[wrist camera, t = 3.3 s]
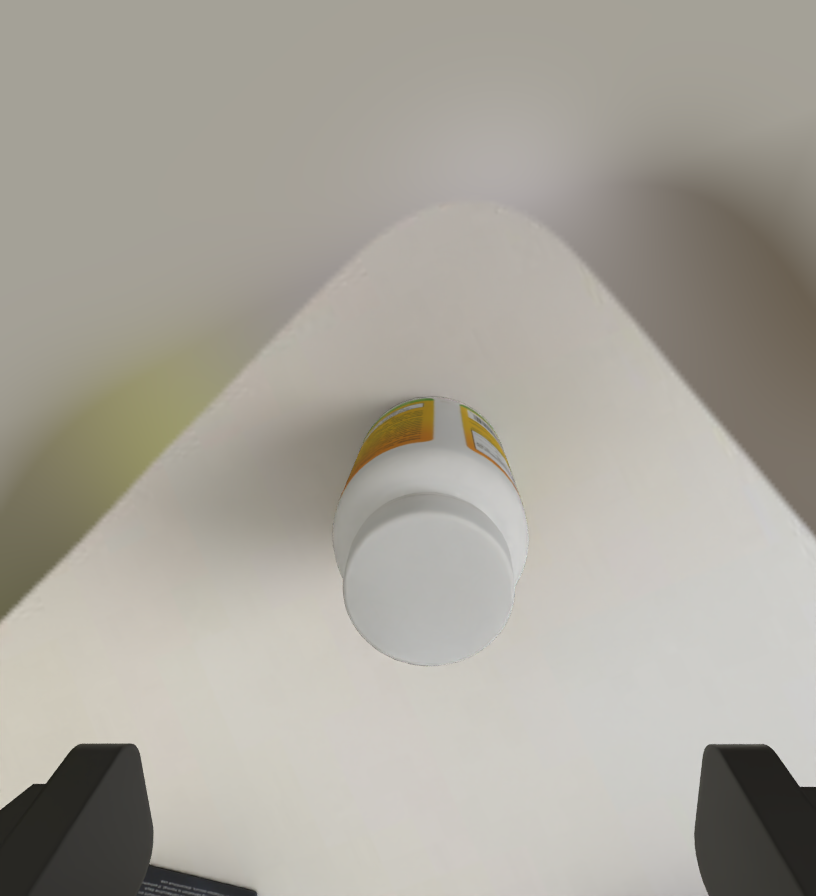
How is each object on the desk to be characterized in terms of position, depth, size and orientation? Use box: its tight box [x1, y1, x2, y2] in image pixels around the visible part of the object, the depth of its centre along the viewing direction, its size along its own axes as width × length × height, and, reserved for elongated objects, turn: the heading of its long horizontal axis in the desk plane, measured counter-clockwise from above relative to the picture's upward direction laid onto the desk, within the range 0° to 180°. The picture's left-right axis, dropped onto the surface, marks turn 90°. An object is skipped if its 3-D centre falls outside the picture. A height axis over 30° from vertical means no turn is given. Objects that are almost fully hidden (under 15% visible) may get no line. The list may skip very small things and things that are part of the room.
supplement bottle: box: [333, 397, 529, 666], centre depth 19 cm, size 5×5×10 cm
